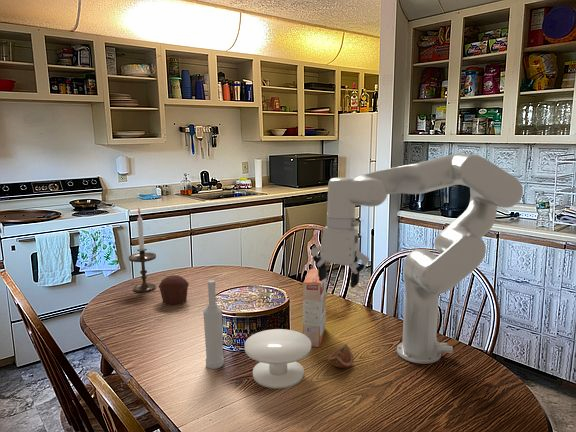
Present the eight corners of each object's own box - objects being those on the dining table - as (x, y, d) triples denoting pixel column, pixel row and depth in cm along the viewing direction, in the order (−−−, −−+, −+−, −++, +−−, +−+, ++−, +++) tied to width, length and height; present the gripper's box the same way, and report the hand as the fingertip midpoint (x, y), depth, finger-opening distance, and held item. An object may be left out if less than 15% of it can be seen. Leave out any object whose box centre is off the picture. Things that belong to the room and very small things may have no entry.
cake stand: (316, 361, 129) (316, 332, 128) (304, 397, 112) (304, 364, 110) (256, 354, 133) (256, 326, 132) (236, 388, 116) (235, 356, 114)
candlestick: (153, 293, 184) (147, 209, 178) (127, 293, 184) (120, 209, 178) (161, 284, 195) (156, 205, 188) (136, 284, 195) (130, 205, 188)
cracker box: (321, 348, 137) (321, 283, 133) (301, 346, 138) (301, 282, 134) (326, 328, 150) (327, 269, 147) (308, 327, 152) (309, 268, 148)
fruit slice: (345, 376, 122) (346, 359, 121) (323, 370, 125) (323, 353, 124) (356, 362, 129) (356, 346, 128) (334, 356, 132) (334, 341, 131)
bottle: (208, 371, 125) (205, 285, 120) (203, 362, 129) (199, 279, 124) (226, 366, 127) (223, 282, 122) (220, 358, 131) (217, 277, 127)
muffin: (195, 299, 177) (194, 275, 175) (175, 309, 168) (173, 283, 166) (174, 293, 183) (173, 270, 182) (153, 302, 174) (151, 278, 172)
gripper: (375, 224, 121) (371, 284, 125) (318, 217, 130) (316, 273, 133) (365, 229, 115) (362, 292, 118) (306, 221, 124) (304, 280, 127)
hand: (337, 282), depth 126 cm, fingers open, 9 cm apart
